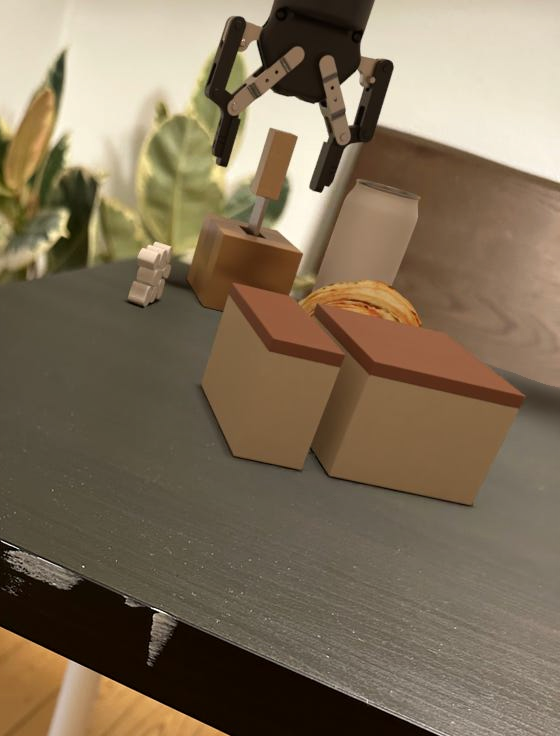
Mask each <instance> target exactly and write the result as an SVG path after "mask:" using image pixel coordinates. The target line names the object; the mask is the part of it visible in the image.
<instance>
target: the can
mask: <svg viewBox="0 0 560 736" xmlns="http://www.w3.org/2000/svg"><path fill="white" fill-rule="evenodd" d="M421 199H422V198H421V196H419V195H416V194H414V193H412V192H409V191H405V190H403V189H401V188H400V189H399V188H396V187H393V186H389V185H386V184H382V183H378V182H374V181H372V180H366V179H361V178H357V179H356V183H355V185H354V187H353V188H352V189H351V190H350V191H349V192H348V194H347V195H346V196H345V198H344V201H343V203H342V206H341V207H340V211H339V214H338V216H337V220H336V222H335V225H334V227H333V231H332V233H331V236H330V239H329V243H328V245H327V247H326V250H325V253H324V256H323V259H322V262H321V264H320V268H319V270H318V273H317V276H316V279H315V281H314V284H313V288H312V290H311V293H313V292H314V291H316V290H318V289H320V288H323V287H325V286H327V285H329V284H336V283H340V282H344V281H348V282H357V281H360V280H363V279H364V280H370V281H380V282H383V283H385V284H387V285H388V286H391V287H393V284H394V283H395V282H394V281H395V279H396V277H397V274H398V271H399V270H400V266H401V264H402V261H403V259H404V256H405V254H406V251H407V248H408V246H409V244H410V241H411V238H412V236H413V233H414V230H415V228H416V225H417V222H418V219H419V210H418V209H419V201H420V200H421Z"/></svg>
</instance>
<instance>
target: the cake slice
mask: <svg viewBox="0 0 560 736" xmlns="http://www.w3.org/2000/svg"><path fill="white" fill-rule="evenodd" d="M298 302H299V301H297V300H296V299H295V298H294V297H293V296H290V295H289V296H287V295H283V294H279V293H275V292H270V291H266V290H262V289H258V288H254V287H249V286H245V285H241V284H237V283H232V285H231V288H230V292H229V295H228V298H227V301H226V305H225V308H224V311H222V315H221V319H220V322H219V324H218V328H217V331H216V334H215V337H214V341H213V344H212V347H211V351H210V353H209V357H208V361H207V364H206V368H205V370H204V373H203V376H202V380H201V383H200V386H201V388H202V390H203V392H204V395H205V397H206V399H207V401H208V403H209V405H210V407H211V410H212V412H213V414H214V416H215V418H216V420H217V423H218V425H219V427H220V429H221V431H222V434H223V436H224V438H225V440H226V442H227V444H228V447H229V449H230V451H231V453H232V456H233V457H237V458H242V459H245V460H250V461H256V462H261V463H266V464H271V465H275V466H279V467H284V468H289V469H294V470H298V471H302V469H303V467H304V464H305V462H306V459H307V456H308V454H309V451H310V448H311V447H310V446H311V443H312V441H313V438H314V436H315V433H316V430H317V428H318V425H319V422H320V420H321V417H322V415H323V412H324V409H325V407H326V404H327V402H328V399H329V396H330V394H331V391H332V388H333V386H334V383H335V381H336V378H337V375H338V373H339V370H340V368H341V365H342V362H343V360H344V357H345V354H344V353H343V352H342V350H341V349H340V348H339V347H338V346H337V345H336V344H335V343H334V342H333V341H332V340H331V338H330V337H329V336H328V335H327V334H326V333H325V332H324V331H323V330H322V329H321V328H320V326H319V325H318V324H317V323H316V322H315V321H314V320H313V319H312V318H311V317H310V316H309V314H308V313H307V312H306V311H305V310H304V309H303V308H302V307H301V306H300V305H299V304H298Z"/></svg>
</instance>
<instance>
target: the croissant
mask: <svg viewBox="0 0 560 736" xmlns="http://www.w3.org/2000/svg"><path fill="white" fill-rule="evenodd" d="M396 290H397V289H396V288H395V287H394V286H392V287H391V286H388V285H387V284H385V283H383V282H380V281H370V280H364V279H363V280H360V281H357V282H348V281H344V282H340V283H336V284H329V285H327V286H325V287H323V288H320V289H318V290H316V291H314V292H313V293H312V292H311V293H310V294H309V295H308V296H306V297H304V298H303V299H301V300H299V301H297V302H298V304H299V305H300V306H301V307H302V308H303V309H304V310H305V311H306V312H307V313H308V314H309V316H310V317H311V318H312V316H313V313H314V310H315V308H316V305H317V303H321V304H325V305H329V306H333V307H337V308H342V309H346V310H350V311H354V312H358V313H362V314H367V315H371V316H375V317H379V318H383V319H387V320H392V321H396V322H400V323H404V324H408V325H412V326H417V327H421V328H423V326H422V324H423V323H422V321H421V320H420V317H419V315H418V313H417V311H416V309H415V308H414V306H413V305H412V304H411V302H410V301H409V300H408V299H407V298H405V297H403V295H401V293H399V292H398V291H396Z"/></svg>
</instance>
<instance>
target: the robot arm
mask: <svg viewBox="0 0 560 736" xmlns="http://www.w3.org/2000/svg"><path fill="white" fill-rule="evenodd" d="M375 2H376V0H273V3H272V6H271V9H270V13H269V15H268V18H267V19H266V21H265V22H264V24H263V25H262V26H260V25H257V24H254V23H252V22H249V21H247V20H246V18H245V17H243V16H241V15H231V16H229V17H228V18H227V19H226V22H225V24H224V27H223V30H222V32H221V33H222V34H221V36H220V40H219V42H218V46H217V50H216V53H215V55H214V59H213V61H212V64H211V67H210V70H209V74H208V77H207V79H206V83H205V86H204V91H203V92H204V95H205V97H206V98H207V99H209V100H210V101H211V102H212V103H213V104H215V105H216V106H217V107H218V108H219V111H220V116H219V119H218V120H219V121H218V123H217V127H216V130H215V133H214V134H215V135H214V138H213V142H212V145H211V155H212V156H214V157H215V164H216V165H217V166H218V167H222V168H228V165H229V163H230V159H231V155H232V152H233V149H234V146H235V141H236V139H237V135H238V132H239V128H240V125H241V121H242V119H241V118H239V117H240V114H241V113H242V112H243V111H244V110H246V109H247V108H248V107H249V106H250V105H251V104H252V103H254V102H255V101H256V100H258V99H259V98H261V97H262V96H264V94H266V93H267V92H268V91H269V90H271V91H272V93H273V94H276V95H279V96H282V97H287V98H291V97H293V98H294V97H295V98H296V99H298V100H299V101H302V102H304V103H308V104H311V105H315V104H318V106H319V107H318V108H319V110H320V114H321V115H322V117H323V121H324V124H325V128H326V132H327V136H328V139H327V141H323V142H322V146H321V149H320V151H319V155H318V157H317V161H316V163H315V166H314V169H313V173H312V176H311V179H310V182H309V186H308V189H309V190H311V191H312V192H315V193H319V194H322V193H323V191H324V190H325V187H327V188H330V187H331V185H332V184H333V183H334V180H335V179H336V174H337V172H338V169H339V166H340V163H341V160H342V157H343V154H344V151H345V150H346V148H347V147H348V146H349V145H352V144H359V143H363V144H366V143H369V142H371V141H372V140H373V138H374V136H375V132H376V129H377V125H378V122H379V119H380V116H381V112H382V109H383V105H384V102H385V100H386V95H387V92H388V89H389V86H390V83H391V80H392V76H393V73H394V69H395V65H394V63H393V61H392V60H390V59H387V58H382V57H381V58H372V57H368V56H362V51H361V44H362V41H363V37H364V34H365V31H366V29H367V25H368V22H369V20H370V16H371V14H372V10H373V7H374V5H375ZM254 41H256V47H257V51H258V55H259V58H260V62H261V65H260V66H259V67H258V68H257V69H255V71H253V72H252V73H250V75H248V77H246V79H244V80H243V82H242V83H241V84H240V85H239V86H238V87H237V88H236V89H235V90H234V91H233V92H231V93H230V92H229V91H228V90H227V89H226V88H227V85H228V83H229V80H230V76H231V73H232V72H233V71H232V70H233V67H234V64H235V62H236V58H237V55H238V53H243V52H245V51H246V50H247V49H248V47H249V46H250V44H251V43H252V42H254ZM356 72H358V73H359V79H358V80H359V82H358V83H359V85H360V86H361V87H362V92H361V96H360V100H359V102H358V105H357V110H356V113H355V116H354V120H353V123H352V124H350V125H349V122H348V119H347V114H346V111H347V109H346V104H345V100H344V96H343V92H342V88H341V85H343V84H344V83H345V82H346V81H347V80H348V79H349V78H351V77H352V75H354V74H355V73H356Z"/></svg>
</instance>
